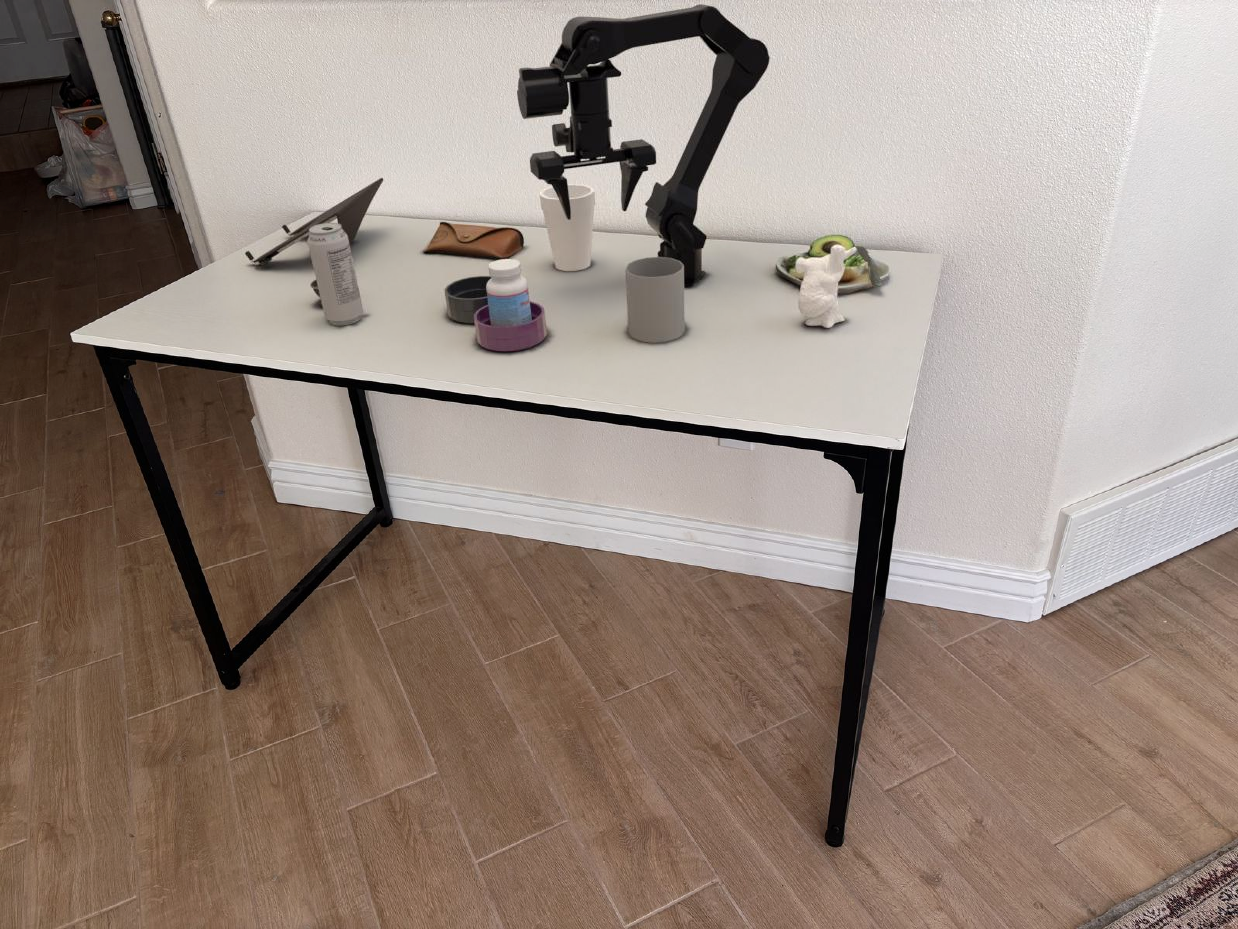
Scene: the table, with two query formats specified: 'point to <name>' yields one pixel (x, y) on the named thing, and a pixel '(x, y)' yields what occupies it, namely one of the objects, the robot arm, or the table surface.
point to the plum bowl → (510, 331)
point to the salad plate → (857, 266)
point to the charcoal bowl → (466, 298)
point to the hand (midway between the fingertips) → (596, 214)
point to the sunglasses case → (476, 241)
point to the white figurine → (822, 286)
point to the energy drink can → (335, 273)
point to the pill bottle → (507, 294)
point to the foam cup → (570, 226)
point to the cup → (655, 299)
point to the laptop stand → (344, 212)
